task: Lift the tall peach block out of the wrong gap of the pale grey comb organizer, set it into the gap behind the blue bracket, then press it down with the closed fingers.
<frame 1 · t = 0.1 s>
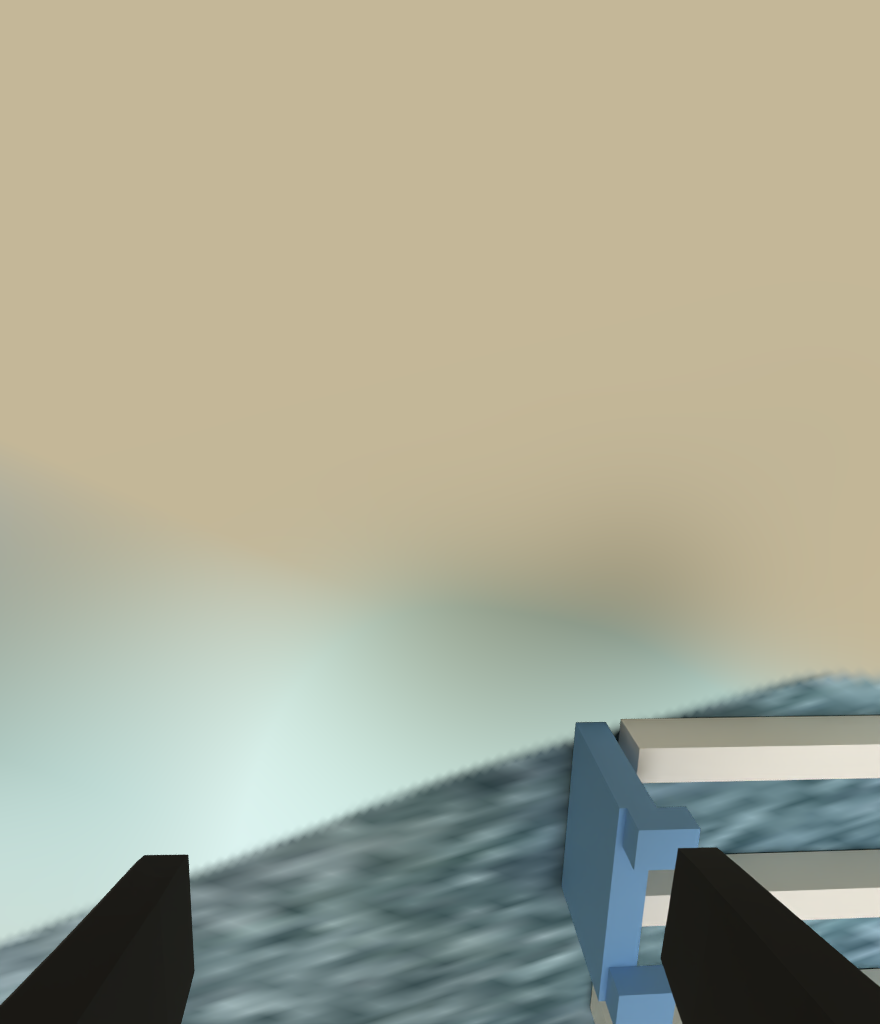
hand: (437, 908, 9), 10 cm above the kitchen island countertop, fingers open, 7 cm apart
blue bracket: (582, 806, 21), on the kitchen island countertop
comb organizer: (757, 929, 22), on the kitchen island countertop
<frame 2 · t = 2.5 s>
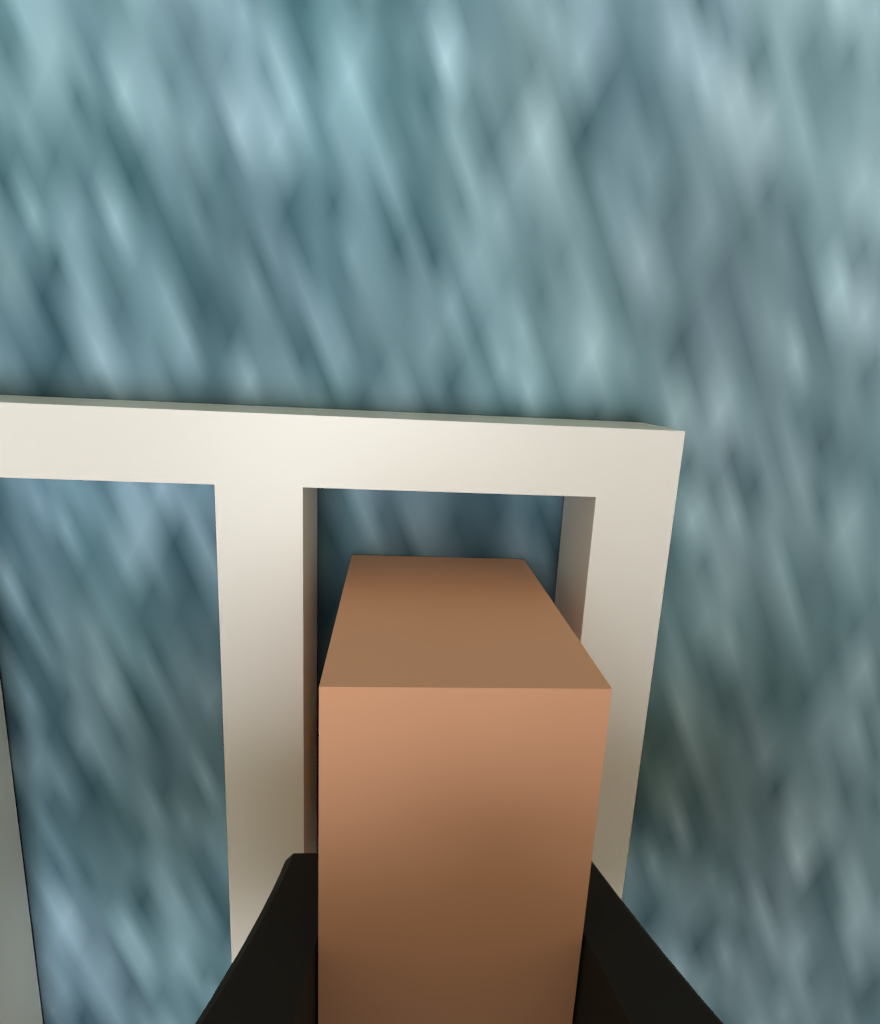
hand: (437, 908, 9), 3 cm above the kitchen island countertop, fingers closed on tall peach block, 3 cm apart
tall peach block: (427, 783, 12), resting in comb organizer, touching gripper
comb organizer: (134, 787, 11), on the kitchen island countertop
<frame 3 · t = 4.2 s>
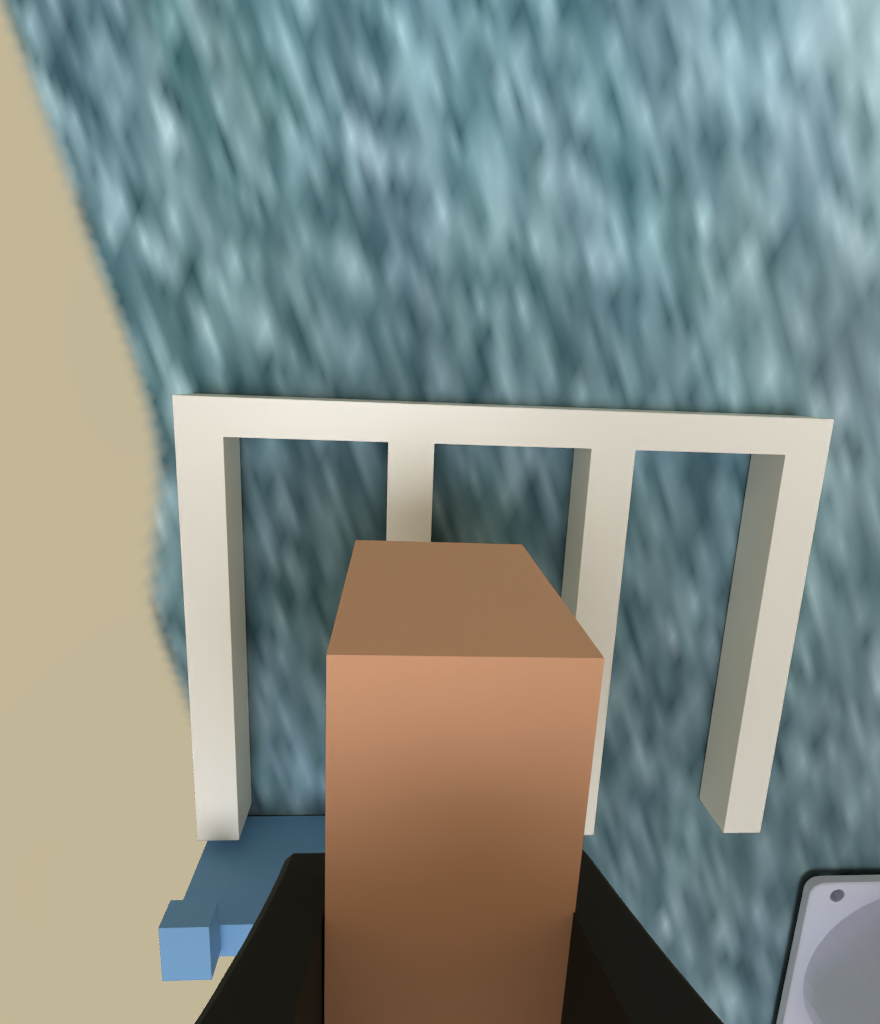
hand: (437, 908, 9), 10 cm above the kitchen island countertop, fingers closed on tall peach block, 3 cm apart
blue bracket: (317, 828, 20), on the kitchen island countertop
tall peach block: (429, 763, 12), point 7 cm above the kitchen island countertop, touching gripper
comb organizer: (491, 632, 19), on the kitchen island countertop
when the fingers open (4 cm above the kitchen island countertop, at t = 5.9 s): tall peach block stays where it is, resting in comb organizer.
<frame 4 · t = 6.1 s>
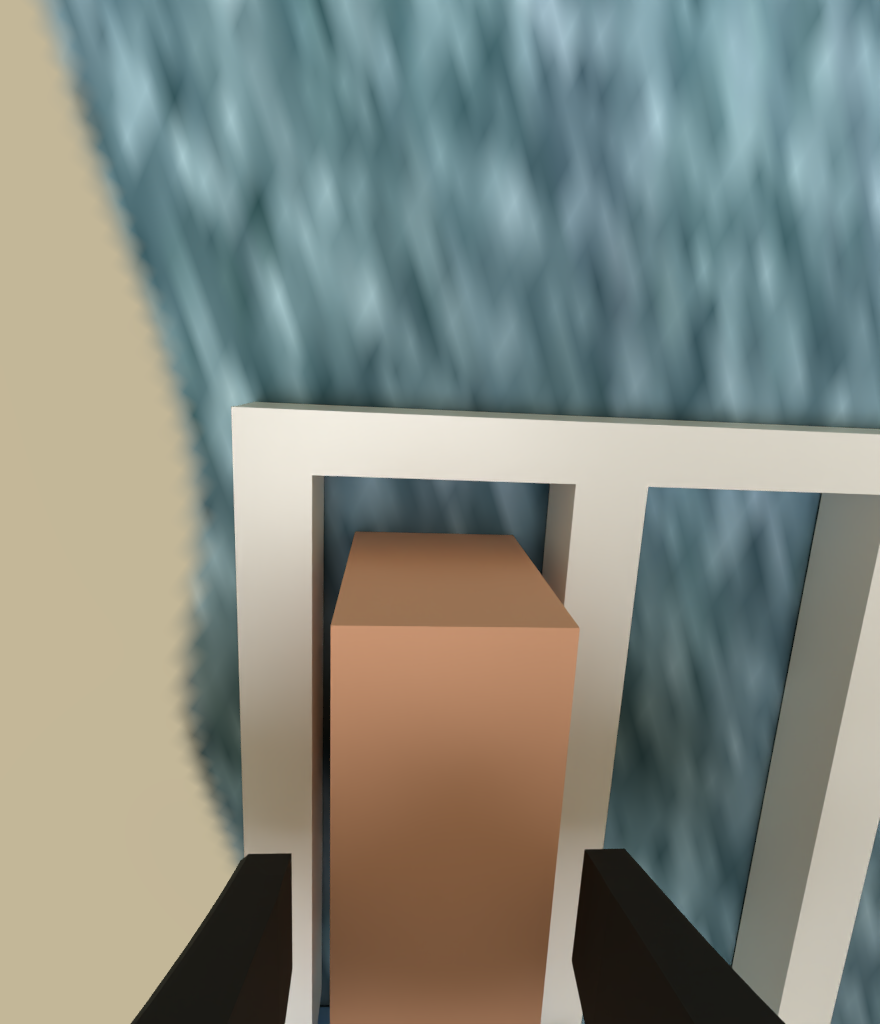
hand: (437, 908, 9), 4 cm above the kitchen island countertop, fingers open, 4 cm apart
tall peach block: (425, 740, 13), resting in comb organizer
comb organizer: (678, 753, 13), on the kitchen island countertop
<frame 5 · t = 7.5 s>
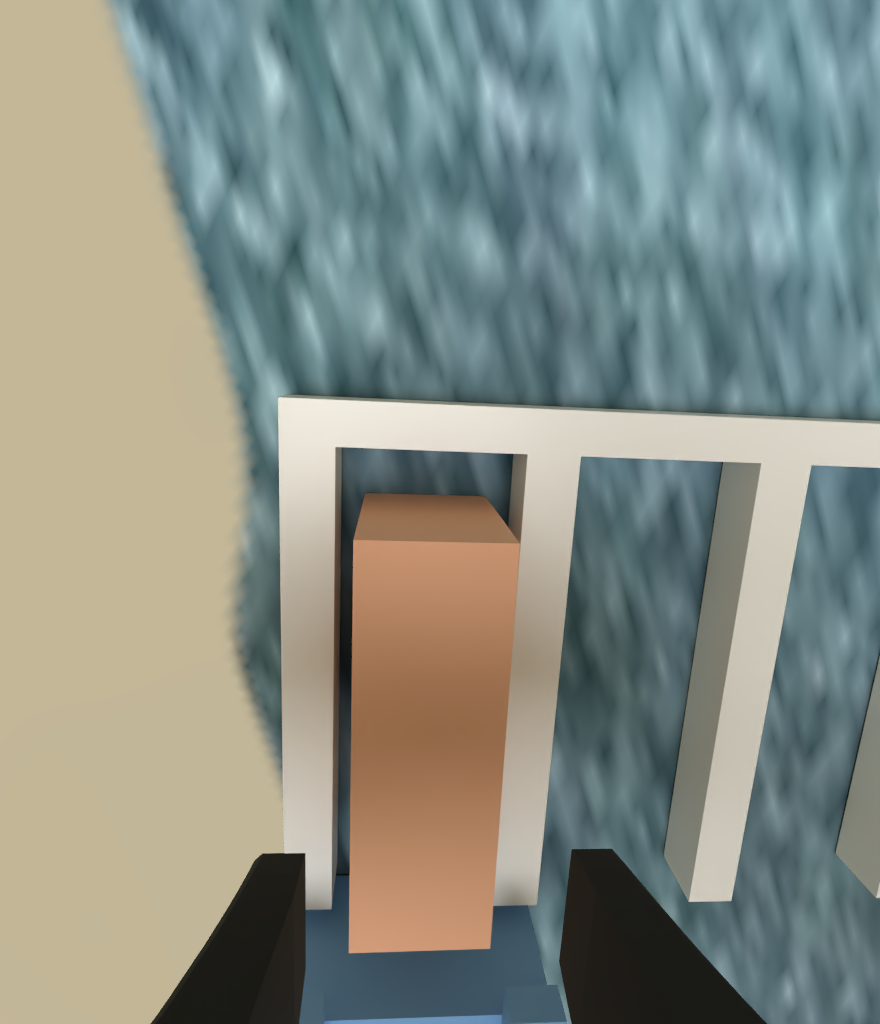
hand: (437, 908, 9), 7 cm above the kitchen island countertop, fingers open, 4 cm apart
blue bracket: (409, 888, 18), on the kitchen island countertop
tall peach block: (419, 658, 16), resting in comb organizer
comb organizer: (617, 670, 16), on the kitchen island countertop
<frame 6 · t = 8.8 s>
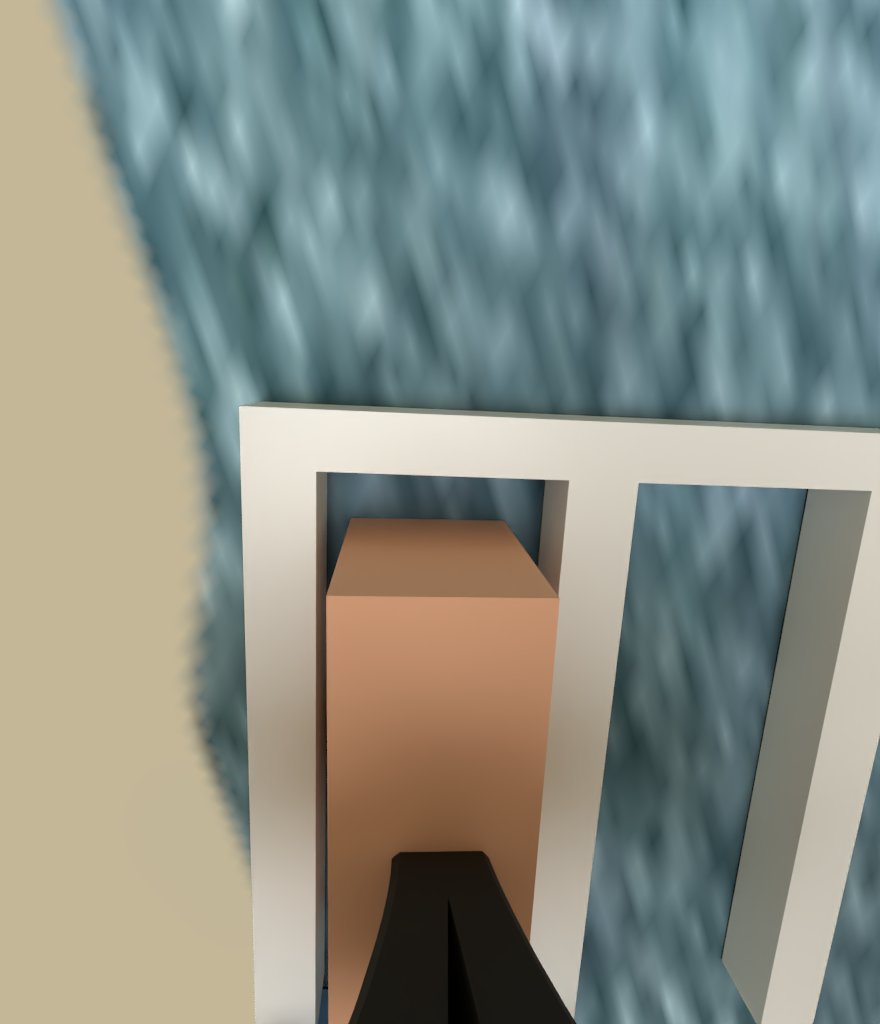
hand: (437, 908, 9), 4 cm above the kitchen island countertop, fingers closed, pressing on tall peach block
tall peach block: (420, 717, 13), resting in comb organizer, touching gripper
comb organizer: (670, 742, 13), on the kitchen island countertop
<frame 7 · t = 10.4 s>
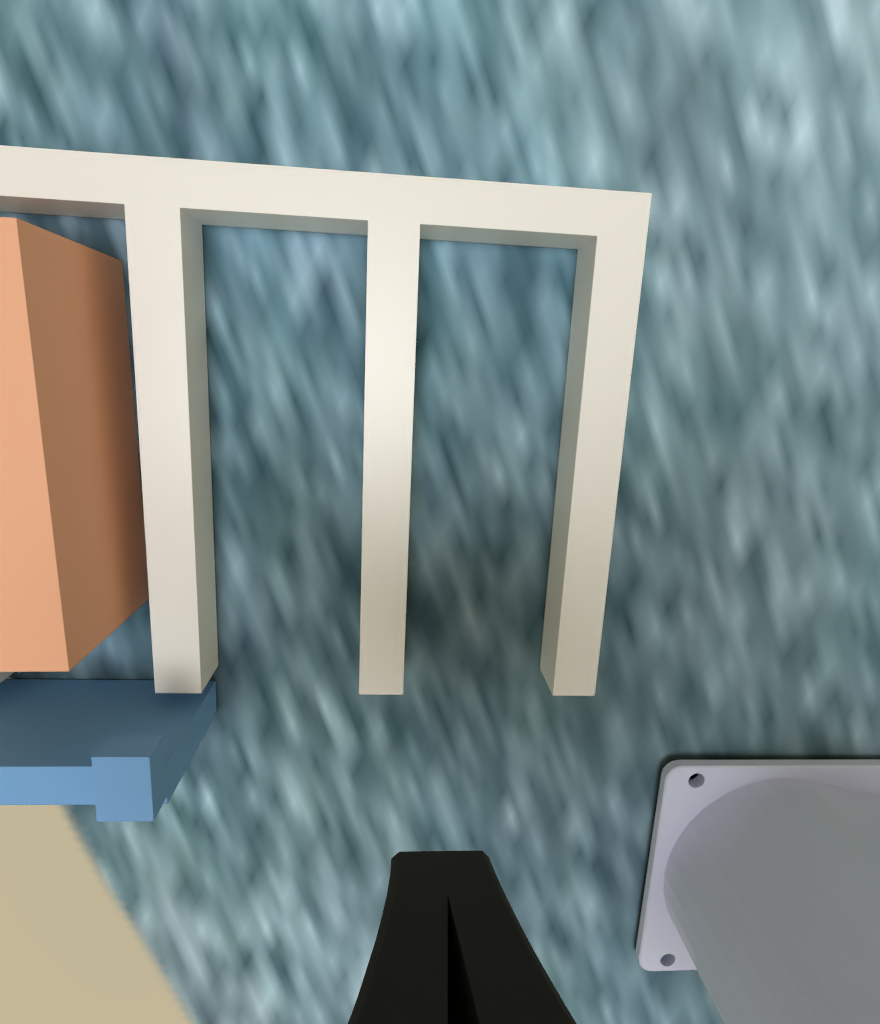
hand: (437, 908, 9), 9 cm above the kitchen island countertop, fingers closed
blue bracket: (104, 695, 18), on the kitchen island countertop
tall peach block: (81, 438, 16), resting in comb organizer
comb organizer: (289, 465, 17), on the kitchen island countertop
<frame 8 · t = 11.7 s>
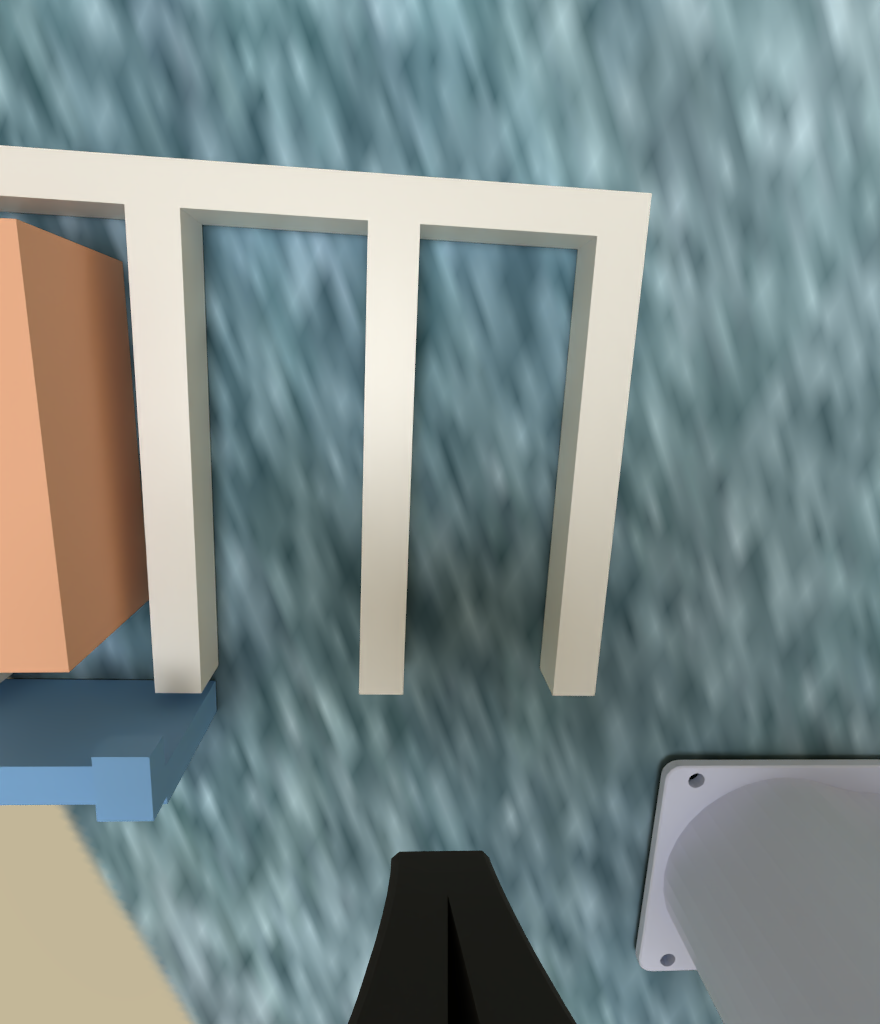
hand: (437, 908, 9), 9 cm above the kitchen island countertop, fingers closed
blue bracket: (104, 695, 18), on the kitchen island countertop
tall peach block: (81, 438, 16), resting in comb organizer
comb organizer: (289, 465, 17), on the kitchen island countertop
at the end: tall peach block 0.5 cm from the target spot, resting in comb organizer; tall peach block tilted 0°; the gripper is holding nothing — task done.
